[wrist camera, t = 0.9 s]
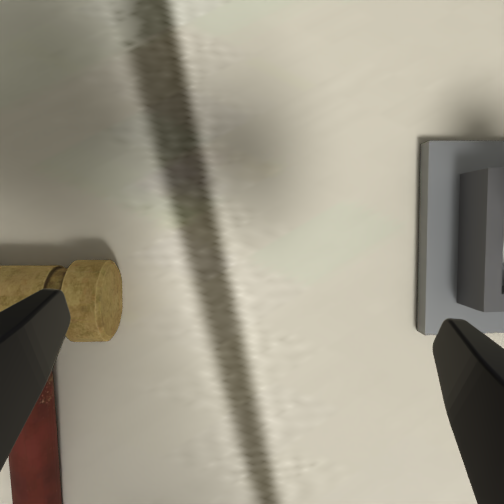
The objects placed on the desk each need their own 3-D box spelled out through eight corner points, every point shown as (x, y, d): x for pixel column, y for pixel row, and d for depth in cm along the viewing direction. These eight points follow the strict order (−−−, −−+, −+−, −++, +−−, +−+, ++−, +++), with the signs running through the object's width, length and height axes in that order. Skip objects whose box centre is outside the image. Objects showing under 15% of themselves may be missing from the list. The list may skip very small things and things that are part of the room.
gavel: (114, 623, 22) (-67, 633, 21) (134, 550, 26) (-14, 556, 26) (96, 267, 19) (-114, 268, 18) (122, 254, 23) (-45, 254, 23)
